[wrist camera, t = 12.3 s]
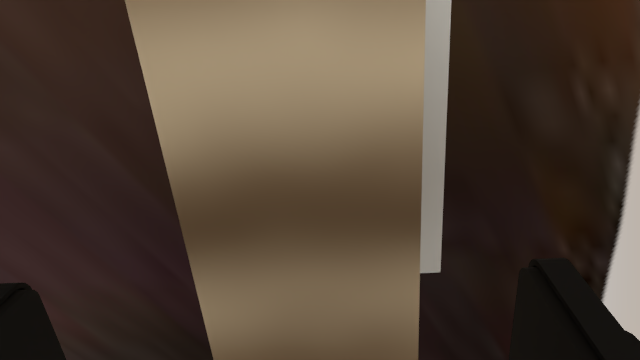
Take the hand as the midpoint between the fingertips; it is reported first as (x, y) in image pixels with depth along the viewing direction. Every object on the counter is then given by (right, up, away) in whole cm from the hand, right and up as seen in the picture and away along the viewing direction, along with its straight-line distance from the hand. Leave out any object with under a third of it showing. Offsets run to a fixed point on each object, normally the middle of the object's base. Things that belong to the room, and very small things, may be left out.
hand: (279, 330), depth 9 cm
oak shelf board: (0, +4, +7) cm, 8 cm away
